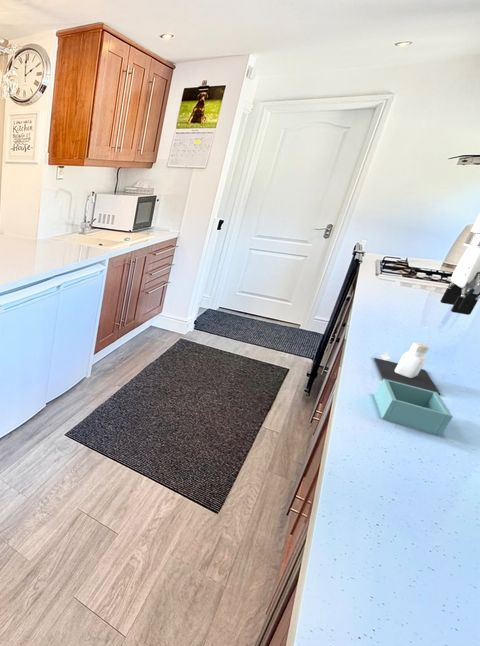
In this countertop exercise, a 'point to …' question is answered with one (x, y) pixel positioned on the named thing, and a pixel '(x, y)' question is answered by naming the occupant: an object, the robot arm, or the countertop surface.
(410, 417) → the bin
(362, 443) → the countertop surface
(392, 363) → the mat
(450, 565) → the countertop surface
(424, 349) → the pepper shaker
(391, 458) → the countertop surface
